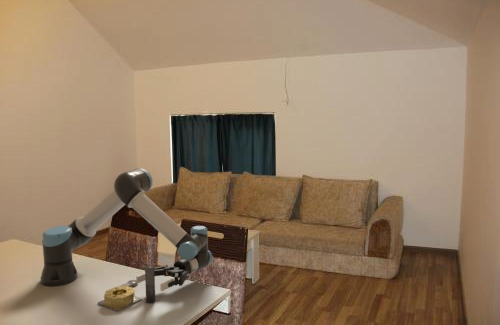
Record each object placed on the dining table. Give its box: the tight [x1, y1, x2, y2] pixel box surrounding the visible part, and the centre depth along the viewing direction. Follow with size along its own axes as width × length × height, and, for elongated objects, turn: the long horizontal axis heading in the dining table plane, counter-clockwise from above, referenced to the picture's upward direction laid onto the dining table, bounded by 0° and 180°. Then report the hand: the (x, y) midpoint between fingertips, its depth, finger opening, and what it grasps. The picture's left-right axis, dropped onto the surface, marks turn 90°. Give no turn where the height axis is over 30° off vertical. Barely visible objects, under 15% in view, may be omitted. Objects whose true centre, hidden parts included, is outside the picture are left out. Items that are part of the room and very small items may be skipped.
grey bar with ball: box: [117, 279, 139, 288], centre depth 173 cm, size 14×4×1 cm, turn 147°
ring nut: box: [97, 285, 143, 313], centre depth 160 cm, size 12×12×4 cm
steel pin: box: [144, 265, 156, 305], centre depth 160 cm, size 4×4×14 cm
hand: (148, 283), depth 159 cm, fingers open, 13 cm apart
